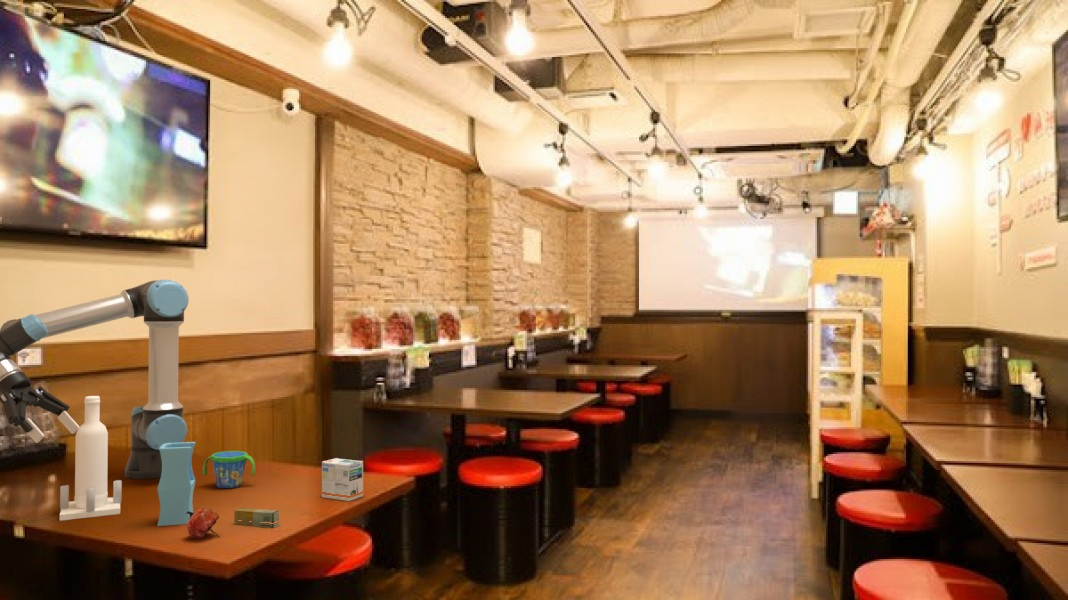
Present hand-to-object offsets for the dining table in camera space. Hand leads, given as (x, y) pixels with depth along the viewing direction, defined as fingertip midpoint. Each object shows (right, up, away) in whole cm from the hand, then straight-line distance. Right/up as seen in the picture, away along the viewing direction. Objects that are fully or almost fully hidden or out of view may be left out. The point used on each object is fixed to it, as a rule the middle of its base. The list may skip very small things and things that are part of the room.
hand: (59, 434), depth 208 cm
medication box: (+60, -22, -12) cm, 64 cm away
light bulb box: (+75, -22, +16) cm, 79 cm away
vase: (+37, -21, -10) cm, 44 cm away
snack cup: (+36, -21, +27) cm, 50 cm away
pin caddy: (+10, -21, -1) cm, 23 cm away
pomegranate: (+50, -21, -23) cm, 59 cm away
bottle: (+10, -19, -1) cm, 22 cm away
